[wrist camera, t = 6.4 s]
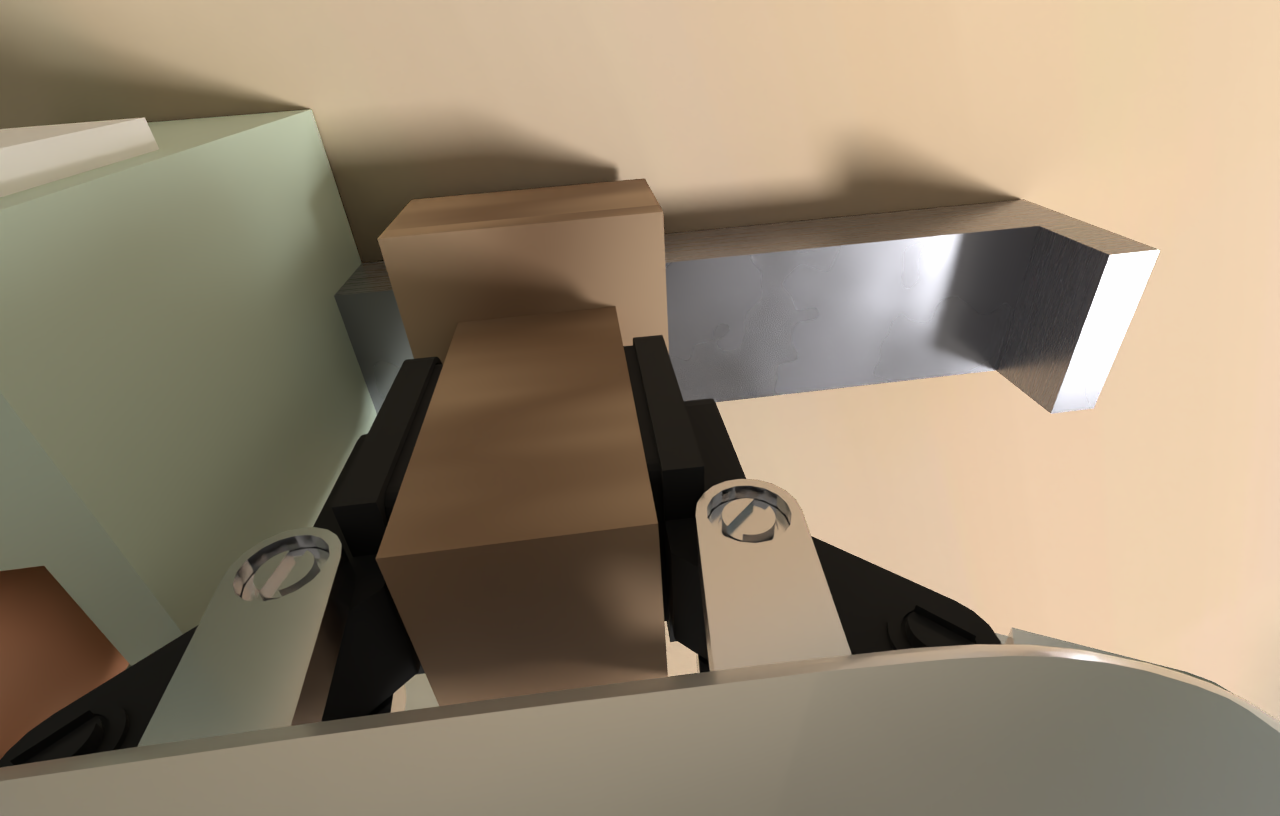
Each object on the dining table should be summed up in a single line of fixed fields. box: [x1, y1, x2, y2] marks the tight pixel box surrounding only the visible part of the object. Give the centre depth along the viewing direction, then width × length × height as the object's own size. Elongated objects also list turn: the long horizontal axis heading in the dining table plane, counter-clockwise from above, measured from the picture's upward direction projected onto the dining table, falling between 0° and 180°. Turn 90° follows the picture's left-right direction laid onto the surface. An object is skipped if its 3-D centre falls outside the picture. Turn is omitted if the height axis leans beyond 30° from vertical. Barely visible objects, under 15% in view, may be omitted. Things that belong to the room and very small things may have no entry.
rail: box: [334, 200, 1160, 414], centre depth 14 cm, size 16×4×4 cm, turn 94°
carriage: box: [376, 179, 669, 706], centre depth 11 cm, size 5×6×9 cm
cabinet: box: [0, 109, 377, 669], centre depth 11 cm, size 5×10×9 cm, turn 4°
